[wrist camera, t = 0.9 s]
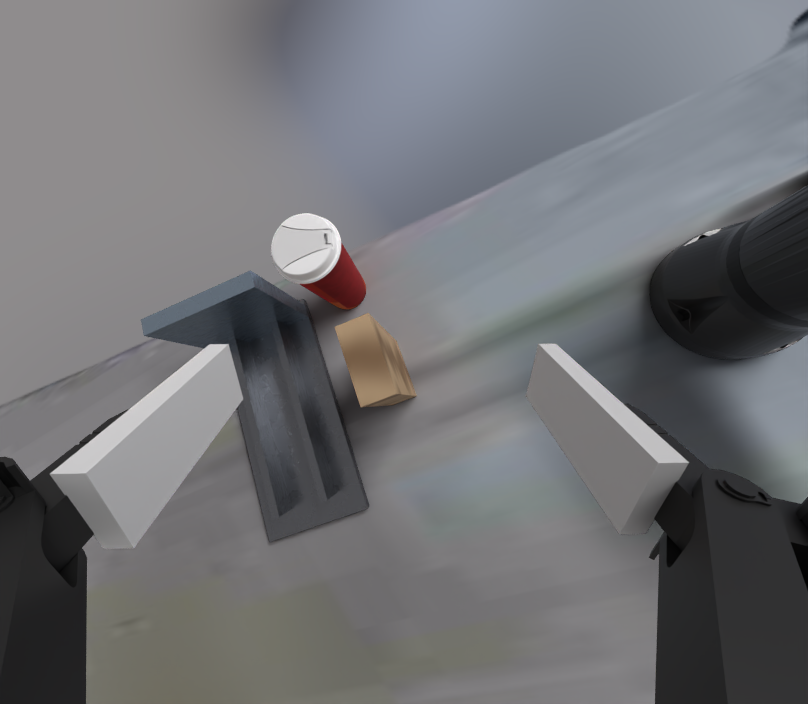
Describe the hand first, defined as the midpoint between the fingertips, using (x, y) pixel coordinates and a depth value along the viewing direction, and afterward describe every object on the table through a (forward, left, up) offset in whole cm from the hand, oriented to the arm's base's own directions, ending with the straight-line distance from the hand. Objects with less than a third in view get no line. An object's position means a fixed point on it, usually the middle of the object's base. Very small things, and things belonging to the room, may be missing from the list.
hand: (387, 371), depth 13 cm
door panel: (+6, 0, -28) cm, 28 cm away
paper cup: (+17, -9, -28) cm, 34 cm away
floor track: (+18, +10, -28) cm, 34 cm away
